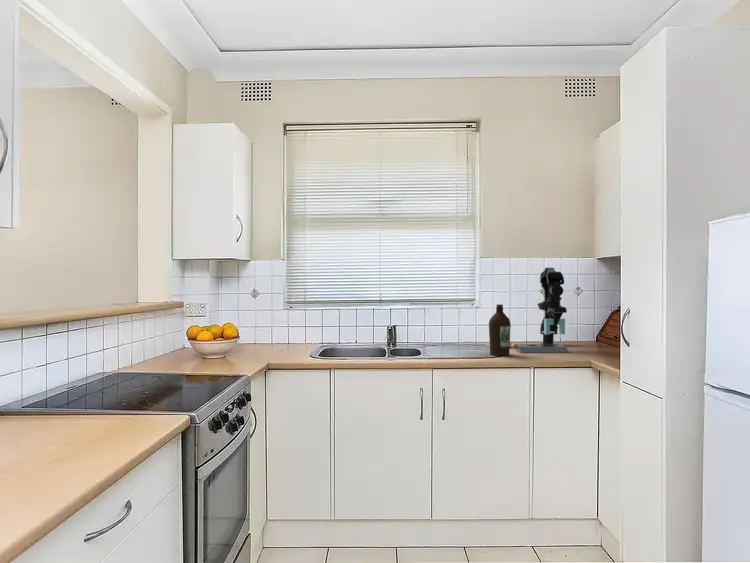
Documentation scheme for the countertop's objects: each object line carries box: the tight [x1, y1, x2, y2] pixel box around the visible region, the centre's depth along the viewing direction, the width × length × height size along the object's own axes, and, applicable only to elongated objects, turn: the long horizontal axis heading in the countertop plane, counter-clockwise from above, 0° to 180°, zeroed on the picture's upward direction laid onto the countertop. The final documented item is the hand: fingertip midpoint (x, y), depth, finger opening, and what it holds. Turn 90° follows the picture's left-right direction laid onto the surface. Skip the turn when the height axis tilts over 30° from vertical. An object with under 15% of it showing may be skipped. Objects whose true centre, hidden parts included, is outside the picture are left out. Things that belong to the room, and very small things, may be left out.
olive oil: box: [488, 303, 511, 357], centre depth 281 cm, size 11×11×25 cm
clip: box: [544, 318, 566, 335], centre depth 295 cm, size 3×10×8 cm, turn 92°
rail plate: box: [513, 343, 568, 354], centre depth 294 cm, size 12×24×3 cm, turn 91°
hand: (554, 325), depth 295 cm, fingers closed on clip, 3 cm apart
